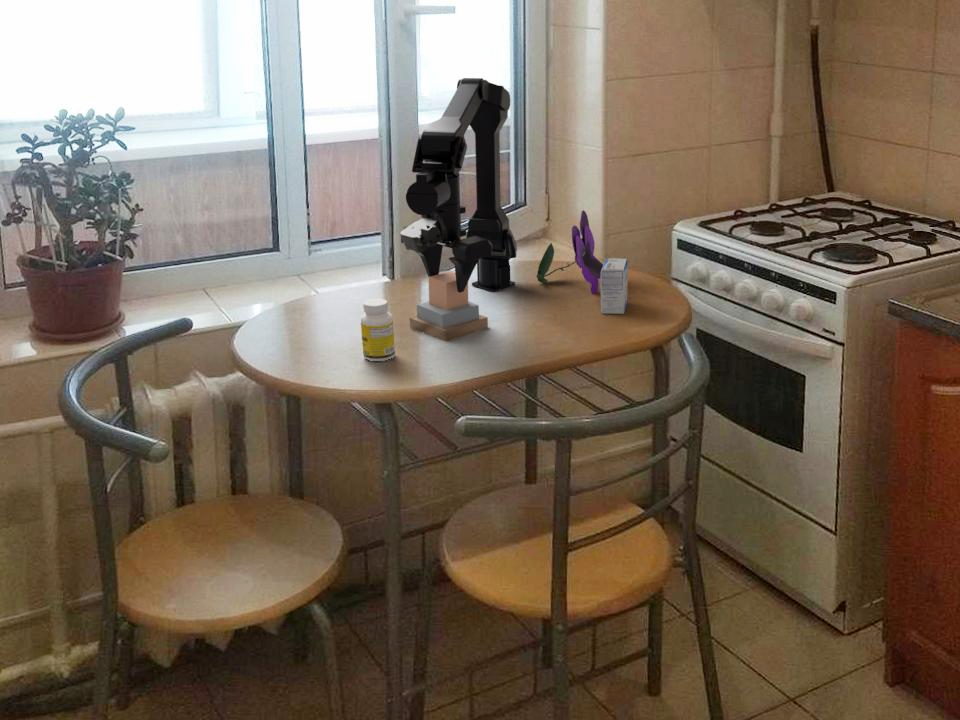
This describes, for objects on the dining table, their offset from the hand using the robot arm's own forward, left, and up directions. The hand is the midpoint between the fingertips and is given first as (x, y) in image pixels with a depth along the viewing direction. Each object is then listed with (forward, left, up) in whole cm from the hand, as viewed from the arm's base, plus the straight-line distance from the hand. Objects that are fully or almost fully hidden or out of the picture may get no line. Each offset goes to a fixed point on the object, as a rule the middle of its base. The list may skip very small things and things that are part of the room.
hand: (447, 287), depth 200 cm
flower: (-2, +33, -8) cm, 34 cm away
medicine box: (+14, +29, -8) cm, 33 cm away
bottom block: (0, 0, -8) cm, 8 cm away
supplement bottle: (+3, -18, -8) cm, 20 cm away
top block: (0, 0, -6) cm, 6 cm away
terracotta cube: (0, 0, -3) cm, 3 cm away
